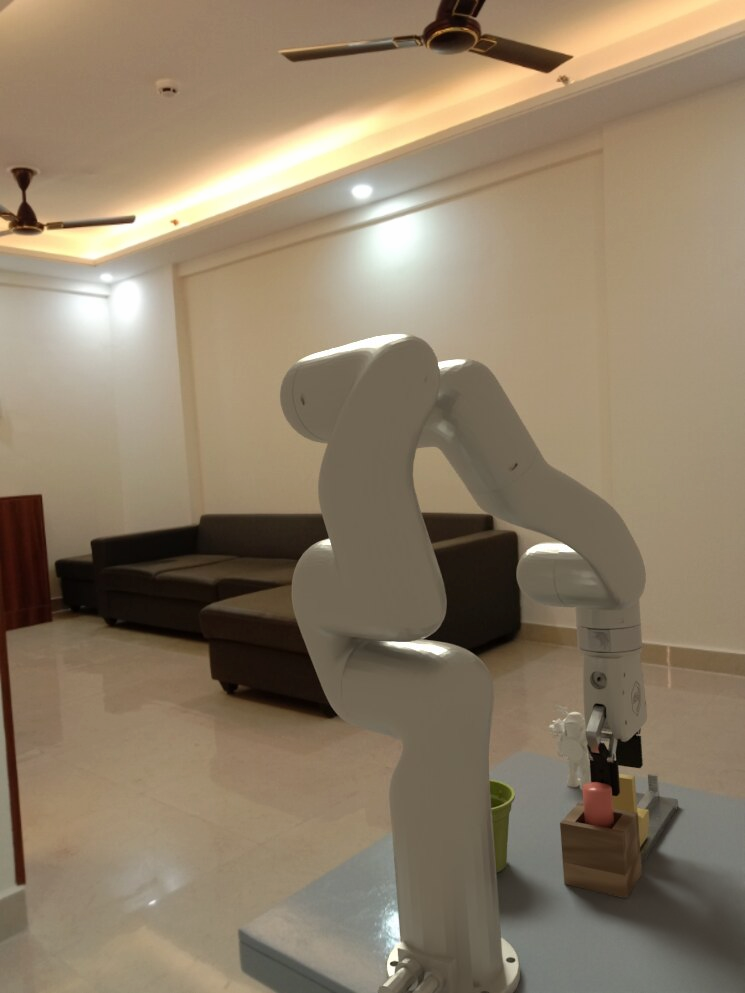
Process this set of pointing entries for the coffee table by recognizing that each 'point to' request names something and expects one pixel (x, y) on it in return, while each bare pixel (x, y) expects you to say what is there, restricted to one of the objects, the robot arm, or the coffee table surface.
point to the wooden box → (601, 852)
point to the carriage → (631, 804)
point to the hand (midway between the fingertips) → (618, 779)
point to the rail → (655, 813)
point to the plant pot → (500, 819)
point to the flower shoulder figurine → (573, 746)
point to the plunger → (598, 804)
